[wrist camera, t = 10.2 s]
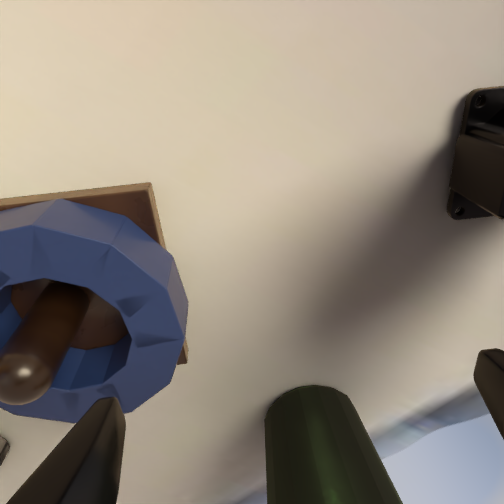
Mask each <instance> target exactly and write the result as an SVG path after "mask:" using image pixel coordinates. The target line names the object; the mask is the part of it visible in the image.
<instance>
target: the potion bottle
mask: <svg viewBox="0 0 504 504" xmlns="http://www.w3.org/2000/svg"><path fill="white" fill-rule="evenodd" d="M265 448H266V478H267V504H403V503H402V501H401V499H400V497H399V495H398V493H397V491H396V489H395V487H394V485H393V483H392V481H391V479H390V477H389V475H388V474H387V471H386V469H385V467H384V465H383V463H382V461H381V459H380V457H379V455H378V453H377V451H376V449H375V447H374V445H373V443H372V441H371V439H370V437H369V435H368V433H367V431H366V429H365V427H364V425H363V423H362V421H361V419H360V417H359V415H358V413H357V411H356V409H355V407H354V406H353V404H352V402H351V401H350V399H349V398H348V396H347V395H345V394H343V393H341V392H340V391H338V390H336V389H334V388H331V387H325V386H318V385H312V386H305V387H299V388H296V389H294V390H292V391H290V392H288V393H285V394H283V395H282V396H281V397H280V398H279V399H278V400H277V401H276V402H275V403H274V404H272V406H271V407H270V408H269V410H268V413H267V415H266V417H265Z"/></svg>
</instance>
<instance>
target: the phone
mask: <svg viewBox="0 0 504 504" xmlns="http://www.w3.org/2000/svg"><path fill="white" fill-rule="evenodd" d="M9 448H10V446H9V443H8V442H7V441H6V440H5V439H4V438H2V437H0V466H1V465H2V463H3V461H4V459H5V457H6V455H7V453H8V451H9Z"/></svg>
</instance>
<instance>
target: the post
mask: <svg viewBox="0 0 504 504" xmlns="http://www.w3.org/2000/svg"><path fill="white" fill-rule="evenodd" d="M54 199H65V200H68V201H72V202H76V203H80V204H83V205H87V206H91V207H94V208H98V209H102V210H106V211H109V212H113V213H117V214H121V215H124V216H126V217H128V218H129V219H130V220H132V221H133V222H134V223H135V224H136V225H137V226H139V227H140V228H141V229H142V230H143V231H144V232H145V233H147V234H148V235H149V236H150V237H151V238H152V239H154V240H155V241H156V242H157V243H158V244H159V245H161V246H162V247H163V248H164V249H165V250H166V247H165V242H164V238H163V233H162V229H161V224H160V220H159V215H158V211H157V206H156V202H155V197H154V193H153V188H152V184H151V183H140V184H131V185H122V186H113V187H104V188H95V189H86V190H77V191H68V192H59V193H49V194H40V195H31V196H22V197H13V198H4V199H0V211H3V210H7V209H12V208H17V207H21V206H26V205H31V204H35V203H40V202H45V201H49V200H54ZM11 302H12V304H13V306H14V307H15V309H16V310H17V312H18V314H19V315H20V317H21V319H22V321H21V323H20V324H19V325H18V327H17V328H16V330H15V331H14V332H13V334H12V335H11V337H10V338H9V340H8V341H7V342H6V344H5V345H4V347H3V348H2V350H1V351H0V401H1V402H3V403H6V404H10V405H23V404H27V403H30V402H33V401H35V400H37V399H38V398H40V397H41V396H43V395H44V394H45V393H46V392H47V391H48V389H49V388H50V387H51V385H52V383H53V381H54V379H55V377H56V375H57V373H58V371H59V369H60V367H61V365H62V363H63V360H64V358H65V356H66V354H67V352H68V350H69V348H70V347H73V348H78V349H84V350H89V349H94V348H99V347H103V346H108V345H113V344H116V343H117V342H118V341H119V340H121V339H122V338H123V337H124V336H126V335H127V334H128V333H129V332H128V329H127V327H126V325H125V323H124V320H123V318H122V316H121V314H120V312H119V310H117V309H116V308H115V307H113V306H112V305H110V304H109V303H108V302H106V301H105V300H104V299H102V298H101V297H99V296H98V295H97V294H95V293H94V292H93V291H91V290H90V289H88V288H87V287H82V286H78V285H73V284H69V283H64V282H60V281H55V280H51V279H46V278H42V279H37V280H33V281H28V282H23V283H18V284H14V285H12V290H11ZM187 360H188V346H187V342H186V337H185V341H184V344H183V347H182V350H181V353H180V356H179V359H178V361H177V364H176V365H179V364H186V363H187Z"/></svg>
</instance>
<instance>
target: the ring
mask: <svg viewBox="0 0 504 504" xmlns="http://www.w3.org/2000/svg"><path fill="white" fill-rule="evenodd" d="M42 278H46V279H51V280H55V281H60V282H64V283H69V284H73V285H78V286H82V287H87V288H88V289H90V290H91V291H93V292H94V293H95V294H97V295H98V296H99V297H101V298H102V299H104V300H105V301H106V302H108V303H109V304H110V305H112V306H113V307H115V308H116V309H117V310H119V312H120V314H121V316H122V318H123V320H124V323H125V325H126V327H127V329H128V332H129V333H128V334H127V335H126V336H124V337H123V338H122V339H121V340H119V341H118V342H117V343H116V344H113V345H108V346H103V347H99V348H94V349H89V350H84V349H78V348H73V347H70V348H69V350H68V352H67V354H66V356H65V358H64V360H63V363H62V365H61V367H60V369H59V371H58V373H57V375H56V377H55V379H54V381H53V383H52V385H51V387H50V388H49V389H48V391H47V392H46V393H45V394H44V395H43V396H41V397H40V398H38V399H37V400H35V401H33V402H30V403H27V404H23V405H10V404H6V403H3V402H1V401H0V408H2V409H4V410H6V411H8V412H10V413H12V414H15V415H19V416H26V417H33V418H40V419H47V420H54V421H61V422H68V423H77V422H78V421H79V420H80V419H81V418H82V416H83V415H84V414H85V413H86V412H87V411H88V410H89V408H90V407H91V406H92V405H93V404H94V403H95V402H96V401H97V400H98V399H100V398H105V397H116V398H117V399H118V401H119V404H120V407H121V409H122V412H123V414H125V413H129V412H132V411H133V410H135V409H136V408H137V407H139V406H140V405H141V404H143V403H144V402H145V401H147V400H148V399H150V398H151V397H152V396H154V395H155V394H156V393H158V392H159V391H160V390H162V389H163V388H164V387H166V386H167V385H168V384H170V382H171V379H172V376H173V373H174V370H175V367H176V364H177V361H178V359H179V356H180V353H181V350H182V347H183V344H184V341H185V333H186V323H187V314H188V299H187V296H186V293H185V290H184V288H183V285H182V282H181V279H180V276H179V273H178V270H177V267H176V264H175V261H174V258H173V257H172V255H171V254H170V253H169V252H167V251H166V250H165V249H164V248H163V247H162V246H161V245H159V244H158V243H157V242H156V241H155V240H154V239H152V238H151V237H150V236H149V235H148V234H147V233H145V232H144V231H143V230H142V229H141V228H140V227H139V226H137V225H136V224H135V223H134V222H133V221H132V220H130V219H129V218H128V217H126V216H124V215H121V214H117V213H113V212H109V211H106V210H102V209H98V208H94V207H91V206H87V205H83V204H80V203H76V202H72V201H68V200H65V199H54V200H49V201H45V202H40V203H35V204H31V205H26V206H21V207H17V208H12V209H7V210H3V211H0V351H1V350H2V348H3V347H4V345H5V344H6V342H7V341H8V340H9V338H10V337H11V335H12V334H13V332H14V331H15V330H16V328H17V327H18V325H19V324H20V323H21V321H22V319H21V317H20V315H19V314H18V312H17V310H16V309H15V307H14V306H13V304H12V302H11V290H12V285H14V284H18V283H23V282H28V281H33V280H37V279H42Z"/></svg>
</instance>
